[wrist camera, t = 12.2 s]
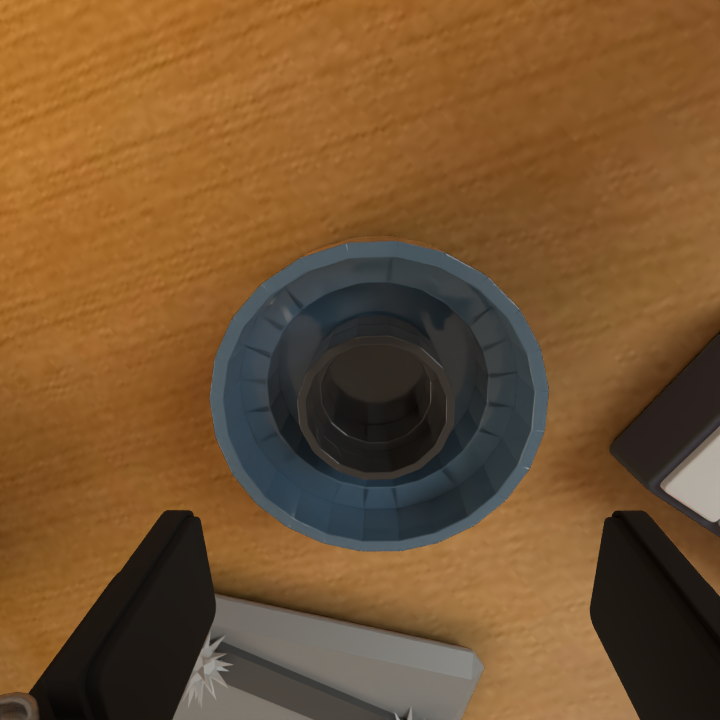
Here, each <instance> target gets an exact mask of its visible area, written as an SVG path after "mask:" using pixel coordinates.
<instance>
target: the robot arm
mask: <svg viewBox="0 0 720 720" xmlns="http://www.w3.org/2000/svg"><path fill="white" fill-rule="evenodd" d="M215 613H216V599H215V594H214V589H213V584H212V578H211V573H210V568H209V562H208V557H207V552H206V547H205V541H204V536H203V531H202V525H201V521H200V518H199V517H194V515H193V513H192V511H189V510H167V511H165V512H164V513H163V514H162V515H161V516H160V518H159V519H158V520H157V522H156V523H155V524H154V526H153V527H152V529H151V530H150V531H149V533H148V534H147V535H146V537H145V538H144V540H143V541H142V542H141V544H140V545H139V546H138V548H137V549H136V551H135V552H134V553H133V555H132V556H131V557H130V559H129V560H128V562H127V563H126V564H125V566H124V567H123V568H122V570H121V571H120V572H119V573H118V574H117V575H116V576H115V577H114V578H113V579H112V580H111V582H110V583H109V584H108V586H107V587H106V589H105V590H104V591H103V593H102V594H101V595H100V597H99V598H98V599H97V601H96V602H95V604H94V605H93V606H92V608H91V609H90V610H89V612H88V613H87V614H86V616H85V617H84V619H83V620H82V621H81V623H80V624H79V625H78V627H77V628H76V629H75V631H74V632H73V633H72V635H71V636H70V638H69V639H68V640H67V642H66V643H65V644H64V646H63V647H62V648H61V650H60V651H59V653H58V654H57V655H56V657H55V658H54V659H53V661H52V662H51V663H50V665H49V666H48V668H47V669H46V670H45V672H44V673H43V674H42V676H41V677H40V678H39V680H38V681H37V682H36V684H35V685H34V687H33V688H32V689H31V691H30V692H29V693H22V692H13V693H8V694H2V695H0V720H173V717H174V715H175V712H176V710H177V708H178V705H179V703H180V700H181V698H182V695H183V693H184V691H185V688H186V686H187V683H188V681H189V679H190V676H191V674H192V671H193V669H194V667H195V664H196V662H197V659H198V657H199V655H200V652H201V650H202V647H203V645H204V642H205V640H206V638H207V635H208V633H209V630H210V628H211V626H212V623H213V621H214V618H215ZM590 616H591V620H592V624H593V626H594V628H595V630H596V632H597V634H598V636H599V638H600V640H601V642H602V644H603V646H604V648H605V650H606V652H607V654H608V656H609V658H610V660H611V662H612V664H613V666H614V668H615V670H616V672H617V674H618V676H619V678H620V680H621V682H622V684H623V686H624V688H625V690H626V692H627V694H628V696H629V698H630V700H631V702H632V704H633V706H634V708H635V710H636V712H637V714H638V716H639V718H640V720H720V596H719V595H718V594H717V593H716V592H715V590H714V589H713V588H712V587H711V586H710V585H709V584H708V583H707V582H706V581H705V580H704V579H703V577H702V576H701V575H700V574H699V573H698V572H697V570H696V569H695V568H694V567H693V566H692V565H691V563H690V562H689V561H688V560H687V559H686V558H685V557H684V555H683V554H682V553H681V552H680V551H679V550H678V548H677V547H676V546H675V545H674V544H673V543H672V541H671V540H670V539H669V538H668V537H667V536H666V535H665V533H664V532H663V531H662V530H661V529H660V528H659V526H658V525H657V524H656V523H655V522H654V521H653V519H652V518H651V517H650V516H649V515H648V514H647V513H646V512H644V511H614V513H613V514H612V517H608V518H606V519H605V522H604V527H603V533H602V539H601V545H600V551H599V557H598V563H597V569H596V575H595V580H594V586H593V592H592V598H591V604H590Z"/></svg>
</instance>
